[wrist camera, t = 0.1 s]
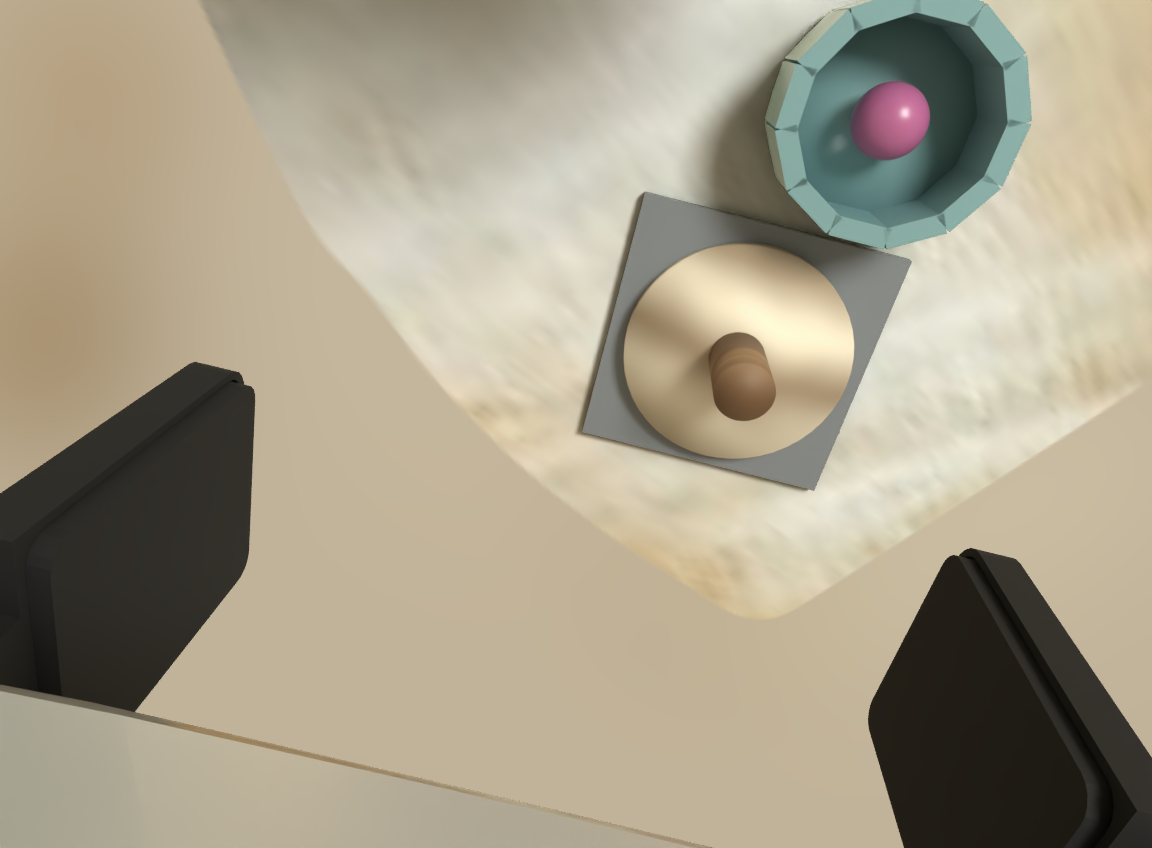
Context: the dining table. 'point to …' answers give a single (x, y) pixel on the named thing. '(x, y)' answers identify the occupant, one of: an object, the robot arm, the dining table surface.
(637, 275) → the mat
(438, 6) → the dining table surface
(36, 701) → the robot arm
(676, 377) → the lid
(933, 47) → the bowl
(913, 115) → the plum
